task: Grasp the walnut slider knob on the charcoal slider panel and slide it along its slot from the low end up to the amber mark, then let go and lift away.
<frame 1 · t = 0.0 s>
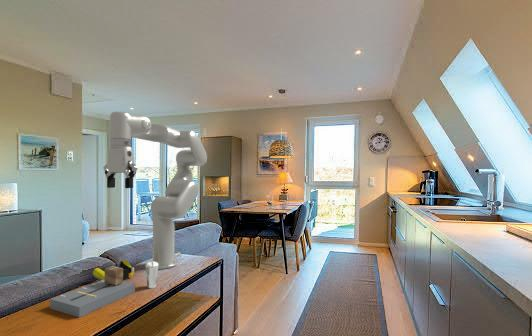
hand: (119, 187, 113), 37 cm above the table, tool pointing down, fingers open, 9 cm apart
slider panel: (95, 299, 97), on the table
fader: (113, 275, 104), point 6 cm above the table, slide at 0.0 cm
milkshake: (151, 287, 108), on the table
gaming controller: (116, 279, 117), on the table
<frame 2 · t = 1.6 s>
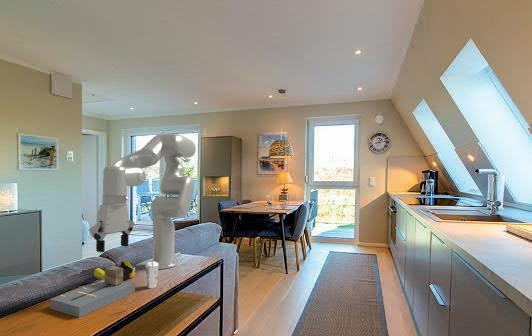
hand: (112, 248, 103), 16 cm above the table, tool pointing down, fingers open, 9 cm apart
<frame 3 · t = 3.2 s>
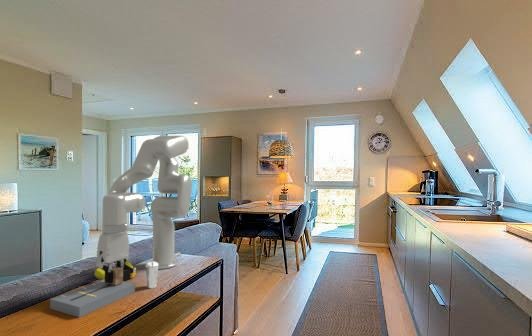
hand: (113, 280, 104), 4 cm above the table, tool pointing down, fingers closed on fader, 3 cm apart
fader: (113, 275, 104), point 6 cm above the table, slide at 0.0 cm, touching gripper
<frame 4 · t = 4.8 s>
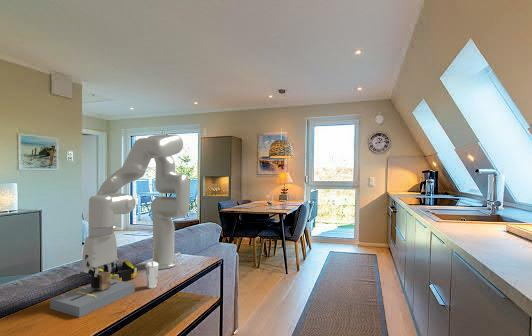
hand: (100, 285, 99), 4 cm above the table, tool pointing down, fingers closed on fader, 3 cm apart
fader: (100, 280, 99), point 6 cm above the table, slide at 5.1 cm, touching gripper
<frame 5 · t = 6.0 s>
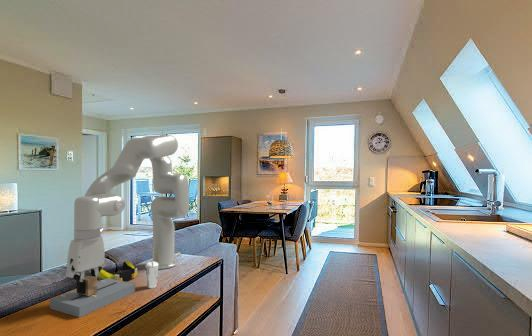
hand: (86, 290, 95), 4 cm above the table, tool pointing down, fingers closed on fader, 3 cm apart
fader: (86, 285, 95), point 6 cm above the table, slide at 9.9 cm, touching gripper
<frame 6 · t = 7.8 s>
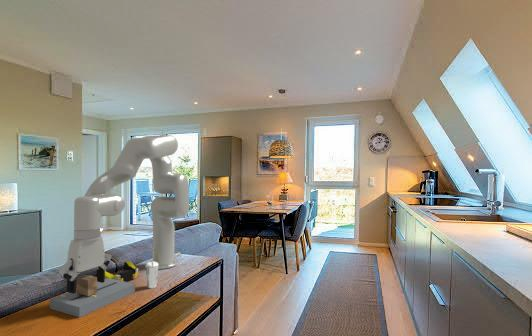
hand: (86, 287, 95), 5 cm above the table, tool pointing down, fingers open, 9 cm apart
fader: (86, 285, 95), point 6 cm above the table, slide at 10.0 cm
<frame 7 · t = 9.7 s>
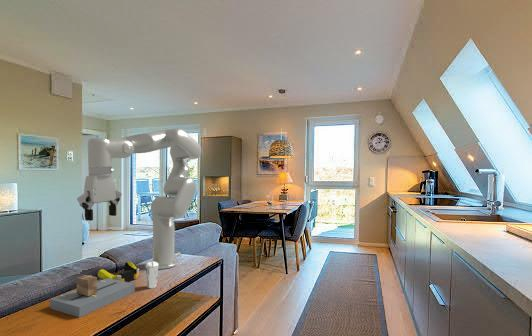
hand: (101, 217, 108), 26 cm above the table, tool pointing down, fingers open, 9 cm apart
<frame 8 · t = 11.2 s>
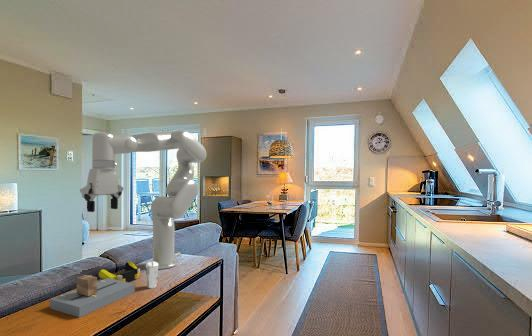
hand: (102, 210, 111), 28 cm above the table, tool pointing down, fingers open, 9 cm apart
at the end: fader slide at 10.0 cm; the gripper is holding nothing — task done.
